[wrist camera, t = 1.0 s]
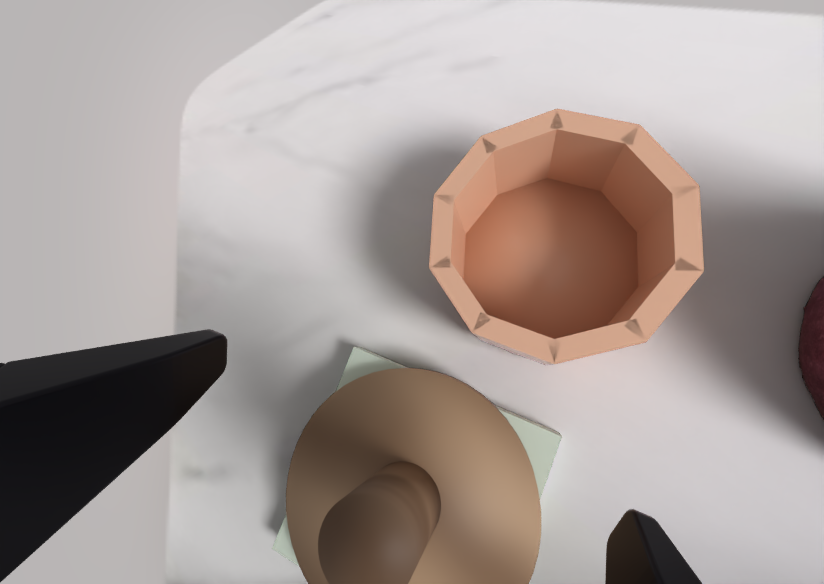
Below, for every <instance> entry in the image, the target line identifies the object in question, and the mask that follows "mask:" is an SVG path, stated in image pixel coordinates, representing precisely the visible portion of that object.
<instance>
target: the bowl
mask: <svg viewBox="0 0 824 584" xmlns="http://www.w3.org/2000/svg"><path fill="white" fill-rule="evenodd" d="M429 269H430V270H431V272H432V273H433V275H434V276H435V278H436V279H437V281H438V282H439V284H440V285H441V287H442V288H443V290H444V291H445V293H446V294H447V296H448V297H449V299H450V300H451V302H452V303H453V305H454V306H455V308H456V310H457V311H458V313H459V314H460V316H461V317H462V319H463V320H464V322H465V323H466V325H467V326H468V328H469V329H470V331H471V332H472V333H473V334H474V335H475V336H476V337H478V338H479V339H480V340H481V341H484V342H487V343H489V344H492V345H494V346H497V347H500V348H502V349H504V350H507V351H509V352H511V353H514V354H517V355H520V356H523V357H525V358H528V359H531V360H533V361H536V362H538V363H541V364H544V365H551V364H558V363H562V362H566V361H570V360H574V359H578V358H583V357H587V356H591V355H595V354H599V353H603V352H608V351H612V350H616V349H620V348H624V347H628V346H632V345H637V344H641V343H645V342H647V341H648V339H649V338H650V337H651V336H652V334H653V333H654V332H655V331H656V329H657V328H658V327H659V326H660V325H661V323H662V322H663V321H664V320H665V318H666V317H667V316H668V315H669V314H670V312H671V311H672V310H673V309H674V307H675V306H676V305H677V304H678V302H679V301H680V300H681V299H682V298H683V296H684V295H685V294H686V293H687V291H688V290H689V289H690V288H691V286H692V285H693V284H694V283H695V282H696V280H697V279H698V278H699V277H700V275H701V274H702V273H703V272H704V262H703V243H702V225H701V207H700V188H699V185H698V184H697V183H696V182H695V181H694V179H693V178H692V177H691V176H690V175H689V174H688V173H687V172H686V171H685V170H684V169H683V168H682V167H681V166H680V165H679V164H678V163H677V162H676V161H675V160H674V159H673V158H672V157H671V156H670V155H669V154H668V153H667V152H666V151H665V150H664V149H663V148H662V147H661V146H660V145H659V144H658V143H657V142H656V141H655V140H654V139H653V138H652V136H651V135H650V134H649V133H648V132H647V131H646V130H645V129H644V128H643V127H642V126H641V125H640V126H639V124H634V123H628V122H623V121H618V120H613V119H608V118H603V117H597V116H592V115H587V114H582V113H577V112H572V111H566V110H561V109H555V110H552V111H549V112H546V113H544V114H541V115H538V116H535V117H532V118H530V119H527V120H524V121H521V122H519V123H516V124H513V125H510V126H508V127H505V128H502V129H499V130H496V131H494V132H491V133H488V134H485V135H483V136H481V137H480V138H479V139H478V140H477V142H476V143H475V144H474V145H473V147H472V148H471V149H470V150H469V152H468V153H467V154H466V155H465V157H464V158H463V159H462V160H461V162H460V163H459V164H458V165H457V167H456V168H455V169H454V170H453V172H452V173H451V174H450V175H449V177H448V178H447V179H446V180H445V182H444V183H443V184H442V185H441V187H440V188H439V189H438V190H437V192H436V193H435V194H434V200H433V215H432V231H431V246H430V261H429Z"/></svg>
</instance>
